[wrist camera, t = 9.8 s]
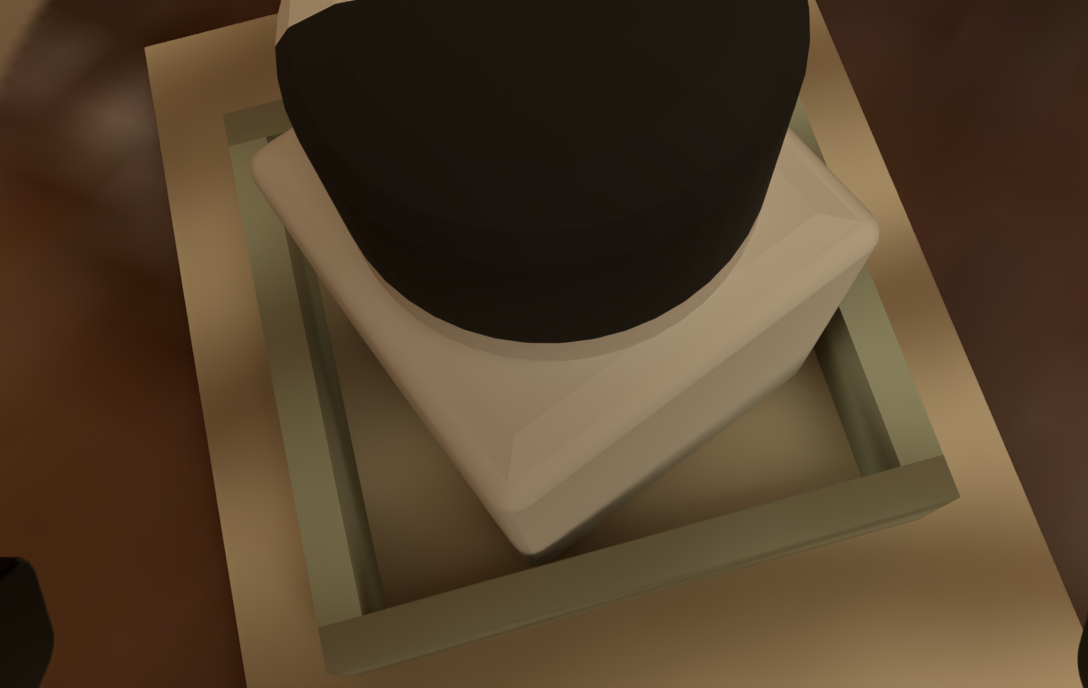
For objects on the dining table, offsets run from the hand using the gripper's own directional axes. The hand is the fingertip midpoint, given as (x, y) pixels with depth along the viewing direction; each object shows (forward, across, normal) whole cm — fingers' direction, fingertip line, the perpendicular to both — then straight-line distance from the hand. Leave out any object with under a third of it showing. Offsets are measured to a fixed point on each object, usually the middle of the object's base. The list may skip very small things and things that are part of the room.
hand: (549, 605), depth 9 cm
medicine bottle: (+13, 0, +4) cm, 14 cm away
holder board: (+14, 0, +4) cm, 15 cm away
